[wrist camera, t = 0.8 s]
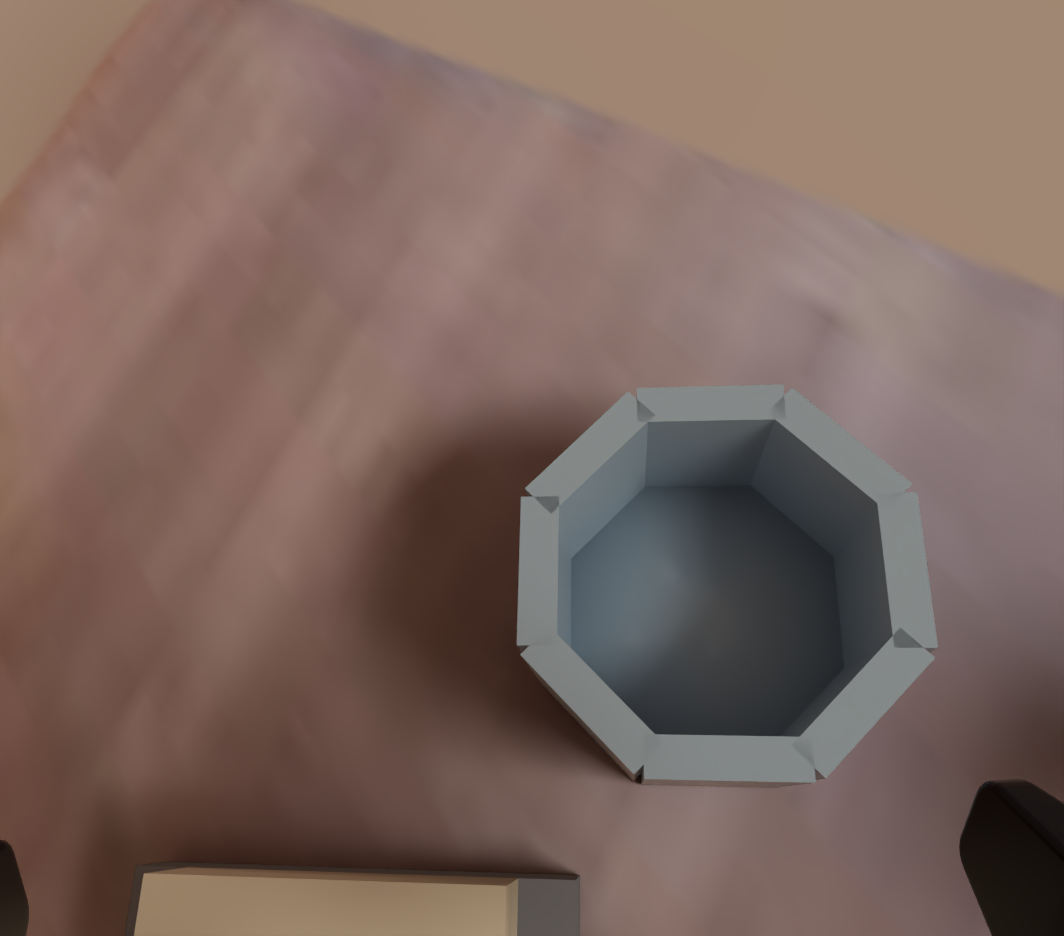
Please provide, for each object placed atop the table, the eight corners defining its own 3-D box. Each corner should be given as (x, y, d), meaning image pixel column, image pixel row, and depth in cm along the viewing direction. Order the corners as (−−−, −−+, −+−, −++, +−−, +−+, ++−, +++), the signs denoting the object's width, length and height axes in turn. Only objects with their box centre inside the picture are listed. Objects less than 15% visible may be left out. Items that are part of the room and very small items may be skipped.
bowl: (883, 790, 21) (956, 785, 16) (538, 782, 22) (512, 776, 17) (849, 465, 24) (902, 381, 19) (544, 469, 24) (523, 390, 20)
